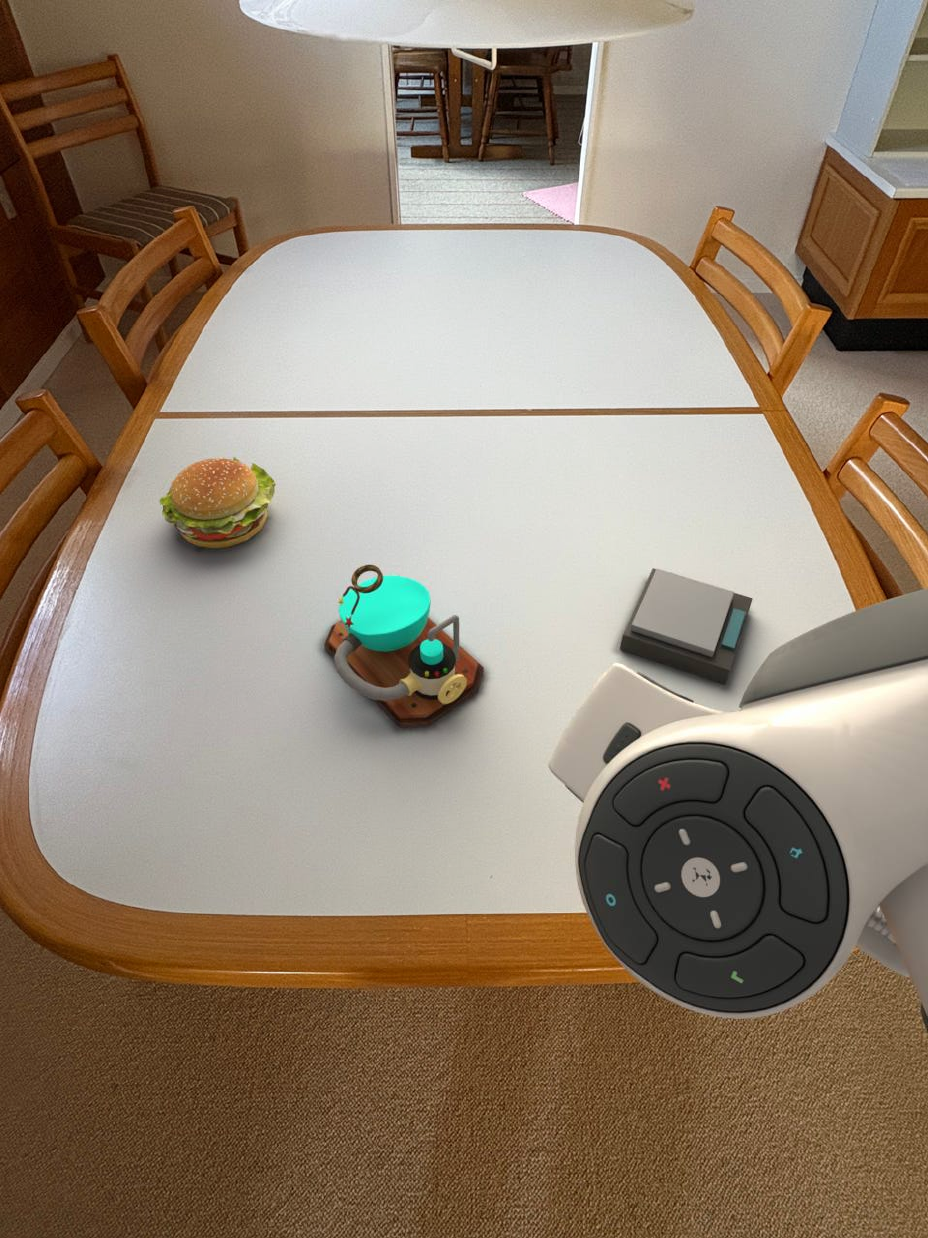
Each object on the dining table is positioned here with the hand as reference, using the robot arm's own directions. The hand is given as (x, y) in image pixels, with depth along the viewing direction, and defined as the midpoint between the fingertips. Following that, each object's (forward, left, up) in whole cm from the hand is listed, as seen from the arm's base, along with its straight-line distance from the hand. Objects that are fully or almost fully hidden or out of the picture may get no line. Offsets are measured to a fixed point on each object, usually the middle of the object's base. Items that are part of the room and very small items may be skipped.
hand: (749, 801), depth 48 cm
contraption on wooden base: (+36, -18, -26) cm, 48 cm away
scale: (+8, -37, -26) cm, 46 cm away
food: (+68, -30, -26) cm, 79 cm away
